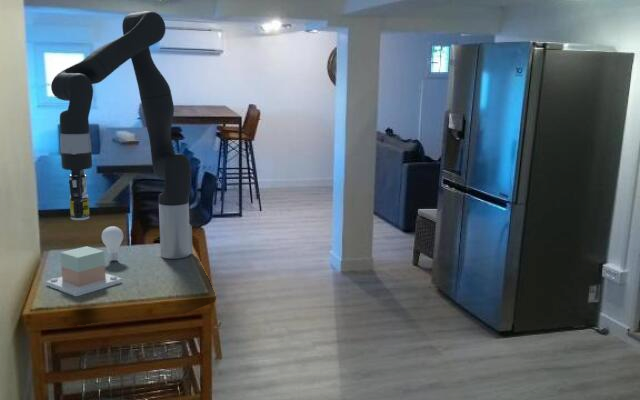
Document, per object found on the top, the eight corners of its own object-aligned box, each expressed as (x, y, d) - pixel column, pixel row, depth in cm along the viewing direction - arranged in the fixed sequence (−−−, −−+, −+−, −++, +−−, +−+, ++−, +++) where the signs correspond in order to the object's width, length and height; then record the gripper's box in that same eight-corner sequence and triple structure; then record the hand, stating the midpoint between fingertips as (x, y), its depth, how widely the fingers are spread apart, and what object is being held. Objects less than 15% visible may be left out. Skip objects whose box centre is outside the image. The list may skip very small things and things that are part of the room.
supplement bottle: (83, 220, 159) (81, 189, 158) (67, 219, 160) (65, 188, 159) (93, 217, 164) (91, 186, 162) (77, 216, 165) (75, 185, 163)
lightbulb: (121, 257, 191) (120, 223, 189) (126, 262, 186) (125, 227, 184) (100, 259, 188) (99, 225, 186) (105, 265, 182) (103, 229, 180)
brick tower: (91, 272, 175) (90, 242, 173) (121, 282, 167) (120, 250, 165) (46, 285, 164) (43, 252, 162) (76, 296, 156) (73, 262, 154)
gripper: (65, 147, 164) (69, 208, 168) (56, 154, 151) (60, 220, 154) (94, 147, 166) (97, 207, 170) (88, 153, 153) (91, 219, 156)
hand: (80, 213), depth 162 cm, fingers closed on supplement bottle, 4 cm apart
